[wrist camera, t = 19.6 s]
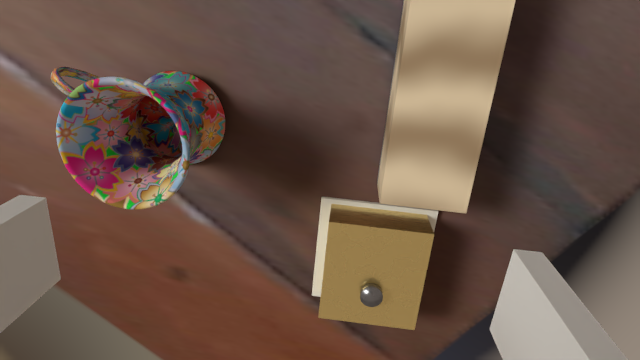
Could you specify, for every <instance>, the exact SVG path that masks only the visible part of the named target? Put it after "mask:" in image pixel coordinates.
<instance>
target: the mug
mask: <svg viewBox="0 0 640 360" xmlns="http://www.w3.org/2000/svg"><path fill="white" fill-rule="evenodd" d="M61 76H68V77H72V78H76V79H80V80H83V81H86V82H85V83H83V84H82V85H80V86H79V87H77V88H76V89H75V88H73V87H71V86H70V85H69V84H67V83H66V82H65V81H64V80H63V79H62V78H61ZM51 80H52V82H53V84H54V85H55V86H56V87H57V88H58V89H59V90H60V91H61V92H63V93H64V94H65V95H67V96H68V97H67V98H66V100H65V101H64V103H63V105H62V107H61V109H60V111H59V115H58V118H57V124H56V138H57V145H58V149H59V152H60V155H61V158H62V160H63V162H64V164H65V166H66V168H67V170H68V171H69V173H70V174H71V176H72V177H73V178H74V179H75V181H76V182H77V183H78V184H79V185H80V186H81V187H82V188H83V189H84V190H86V191H87V192H88V193H89V194H91V195H92V196H94V197H95V198H97V199H98V200H100V201H102V202H104V203H106V204H109V205H112V206H115V207H118V208H123V209H146V208H150V207H154V206H156V205H159V204H161V203H163V202H165V201H166V200H168V199H169V198H170V197H171V196H173V195H174V194H175V193H176V192H177V191H178V189H179V188H180V187H181V185H182V183H183V182H184V180H185V177H186V175H187V172H188V168H189V164H195V163H199V162H201V161H204V160H205V159H207V158H209V157H210V156H211V155H212V154H213V153H214V152H215V151H216V150H217V149H218V147H219V146H220V144H221V142H222V140H223V136H224V132H225V115H224V110H223V107H222V105H221V102H220V100H219V98H218V97H217V95H216V94H215V92H214V91H213V90H212V89H211V88H210V87H209V86H208V85H207V84H206V83H205V82H204V81H202V80H201V79H199V78H197V77H196V76H194V75H191V74H189V73H185V72H181V71H165V72H161V73H158V74H156V75H154V76H152V77H150V78H149V79H148V80H146V81H145V82H144V83H143V84H142V83H139V82H137V81H134V80H131V79H127V78H122V77H102V78H100V77H98V76H96V75H93V74H90V73H88V72H85V71H81V70H78V69H74V68H69V67H57V68H55V69H54V70H53V72H52V74H51Z"/></svg>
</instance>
